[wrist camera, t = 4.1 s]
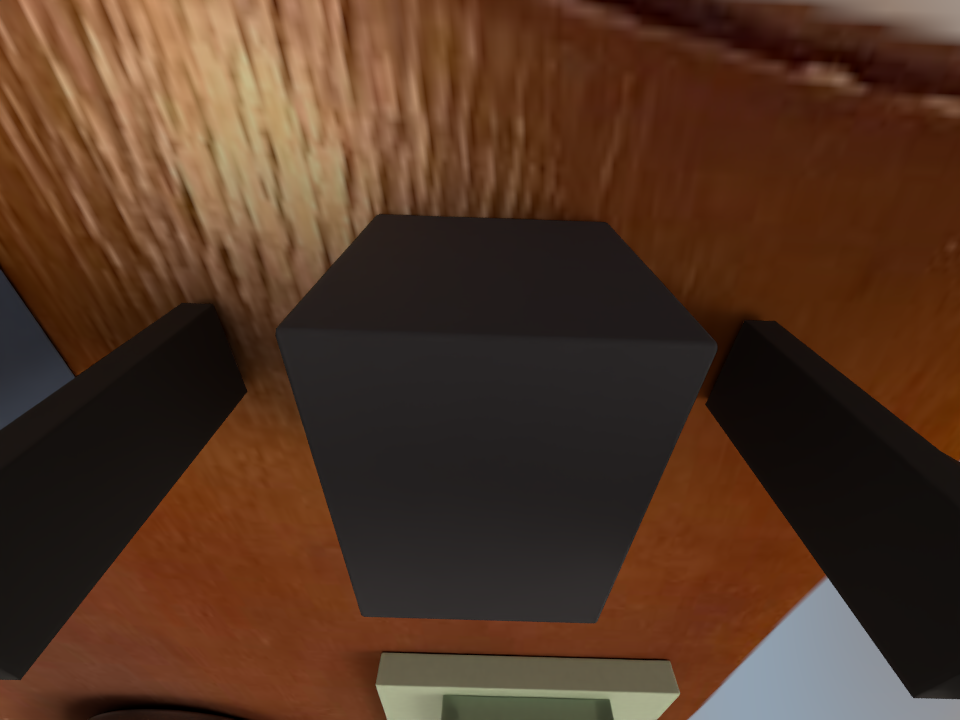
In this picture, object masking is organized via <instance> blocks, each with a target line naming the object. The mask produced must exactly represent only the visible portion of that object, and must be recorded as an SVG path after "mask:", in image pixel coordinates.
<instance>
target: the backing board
mask: <svg viewBox="0 0 960 720" xmlns="http://www.w3.org/2000/svg"><path fill="white" fill-rule="evenodd" d="M376 688H377V691H378V694H379V697H380V700H381V703H382V706H383V709H384V711H385V714H386V717H387V720H657V719H658V718H659V717H660V715H661V714H662V713H663V712H664V711H665V710H666V709H667V708H668V707H669V706H670V705H671V704H672V703H673V701H674V700H675V699H676V698H677V697H678V696H679V695H680V691H679V688H678V685H677V682H676V679H675V676H674V673H673V670H672V666H671V663H670V661H661V660H626V659H591V658H556V657H521V656H486V655H451V654H416V653H382V654H381V659H380V664H379V670H378V675H377V680H376Z"/></svg>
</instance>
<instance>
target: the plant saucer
mask: <svg viewBox="0 0 960 720" xmlns="http://www.w3.org/2000/svg"><path fill="white" fill-rule="evenodd" d="M88 720H236V719H232V718H228V717H223V716H217V715H212V714H205V713H199V712H191V711H180V710H170V709H130V710H119V711H112V712H107V713H103V714H100V715H96V716H94V717H92V718H90V719H88Z"/></svg>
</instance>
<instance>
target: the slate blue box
mask: <svg viewBox="0 0 960 720" xmlns="http://www.w3.org/2000/svg"><path fill="white" fill-rule="evenodd" d="M74 378H75V376H74V375H73V373H72V372H71V370H70V369H69V367H68V366H67V364H66V363H65V362H64V360H63V359H62V357H61V356H60V354H59V353H58V351H57V350H56V349H55V347H54V346H53V344H52V343H51V341H50V340H49V338H48V337H47V335H46V334H45V333H44V331H43V330H42V328H41V327H40V325H39V324H38V322H37V321H36V320H35V318H34V317H33V315H32V314H31V312H30V311H29V309H28V308H27V307H26V305H25V304H24V302H23V301H22V299H21V298H20V296H19V295H18V294H17V292H16V291H15V289H14V288H13V286H12V285H11V283H10V282H9V281H8V279H7V278H6V276H5V275H4V273H3V272H2V270H1V269H0V430H1V429H2V428H4V427H5V426H7V425H8V424H10V423H11V422H12V421H14V420H15V419H17V418H18V417H20V416H21V415H22V414H24V413H25V412H27V411H28V410H30V409H31V408H32V407H34V406H35V405H37V404H38V403H40V402H41V401H42V400H44V399H45V398H47V397H48V396H50V395H51V394H52V393H54V392H55V391H57V390H58V389H60V388H61V387H62V386H64V385H65V384H67V383H68V382H70V381H71V380H72V379H74Z"/></svg>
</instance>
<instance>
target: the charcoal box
mask: <svg viewBox="0 0 960 720" xmlns="http://www.w3.org/2000/svg"><path fill="white" fill-rule="evenodd" d="M276 339H277V342H278V345H279V349H280V352H281V355H282V358H283V362H284V365H285V368H286V371H287V375H288V378H289V381H290V384H291V388H292V391H293V394H294V397H295V401H296V404H297V407H298V411H299V414H300V417H301V420H302V424H303V427H304V430H305V433H306V437H307V440H308V443H309V446H310V450H311V453H312V456H313V459H314V463H315V466H316V469H317V472H318V476H319V479H320V482H321V485H322V489H323V492H324V495H325V498H326V502H327V505H328V508H329V511H330V515H331V518H332V521H333V524H334V528H335V531H336V534H337V537H338V541H339V544H340V547H341V550H342V554H343V557H344V560H345V563H346V567H347V570H348V573H349V576H350V580H351V583H352V586H353V589H354V593H355V596H356V599H357V602H358V606H359V609H360V612H361V615H362V616H364V617H394V618H428V619H463V620H497V621H532V622H566V623H596V622H597V620H598V618H599V616H600V614H601V611H602V609H603V607H604V605H605V602H606V600H607V598H608V596H609V593H610V591H611V589H612V587H613V584H614V582H615V580H616V578H617V575H618V573H619V571H620V569H621V566H622V564H623V562H624V560H625V557H626V555H627V553H628V550H629V548H630V546H631V544H632V541H633V539H634V537H635V535H636V532H637V530H638V528H639V526H640V523H641V521H642V519H643V517H644V514H645V512H646V510H647V508H648V505H649V503H650V501H651V499H652V496H653V494H654V492H655V490H656V487H657V485H658V483H659V481H660V478H661V476H662V474H663V472H664V469H665V467H666V465H667V463H668V460H669V458H670V456H671V454H672V451H673V449H674V447H675V444H676V442H677V440H678V438H679V435H680V433H681V431H682V429H683V426H684V424H685V422H686V420H687V417H688V415H689V413H690V411H691V408H692V406H693V404H694V402H695V399H696V397H697V395H698V393H699V390H700V388H701V386H702V384H703V381H704V379H705V377H706V375H707V372H708V370H709V368H710V366H711V363H712V361H713V359H714V357H715V354H716V352H717V342H716V341H715V340H714V339H713V338H712V337H711V336H710V335H709V333H708V332H707V331H706V330H705V329H704V328H703V327H702V326H701V325H700V324H699V323H698V321H697V320H696V319H695V318H694V317H693V316H692V315H691V314H690V313H689V312H688V311H687V309H686V308H685V307H684V306H683V305H682V304H681V303H680V302H679V301H678V300H677V299H676V297H675V296H674V295H673V294H672V293H671V292H670V291H669V290H668V289H667V288H666V287H665V285H664V284H663V283H662V282H661V281H660V280H659V279H658V278H657V277H656V276H655V275H654V273H653V272H652V271H651V270H650V269H649V268H648V267H647V266H646V265H645V264H644V263H643V261H642V260H641V259H640V258H639V257H638V256H637V255H636V254H635V253H634V252H633V251H632V249H631V248H630V247H629V246H628V245H627V244H626V243H625V242H624V241H623V240H622V239H621V237H620V236H619V235H618V234H617V233H616V232H615V231H614V230H613V229H612V228H611V227H610V225H609V224H608V223H606V222H587V221H558V220H529V219H501V218H472V217H443V216H414V215H385V214H379V215H376V216H375V218H374V219H373V220H372V221H371V222H370V223H369V224H368V225H367V227H366V228H365V229H364V230H363V231H362V232H361V233H360V234H359V236H358V237H357V238H356V239H355V240H354V241H353V242H352V243H351V245H350V246H349V247H348V248H347V249H346V250H345V251H344V252H343V254H342V255H341V256H340V257H339V258H338V259H337V260H336V261H335V263H334V264H333V265H332V266H331V267H330V268H329V269H328V270H327V272H326V273H325V274H324V275H323V276H322V277H321V278H320V279H319V281H318V282H317V283H316V284H315V285H314V286H313V287H312V288H311V290H310V291H309V292H308V293H307V294H306V295H305V296H304V297H303V299H302V300H301V301H300V302H299V303H298V304H297V305H296V306H295V308H294V309H293V310H292V311H291V312H290V313H289V314H288V315H287V317H286V318H285V319H284V320H283V321H282V322H281V323H280V324H279V326H278V327H277V328H276Z"/></svg>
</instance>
